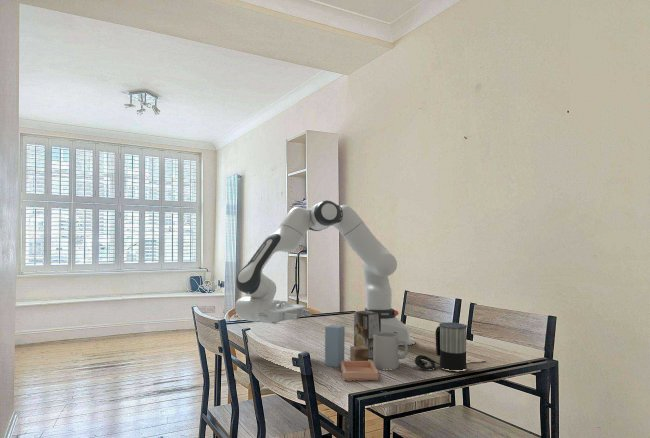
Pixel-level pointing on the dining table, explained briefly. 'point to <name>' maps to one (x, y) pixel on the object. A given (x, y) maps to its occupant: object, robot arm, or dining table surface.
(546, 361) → the dining table surface
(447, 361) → the milk frother
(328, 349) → the slate block
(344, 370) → the tray
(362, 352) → the walnut cube
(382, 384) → the dining table surface
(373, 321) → the coffee box
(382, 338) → the mug
